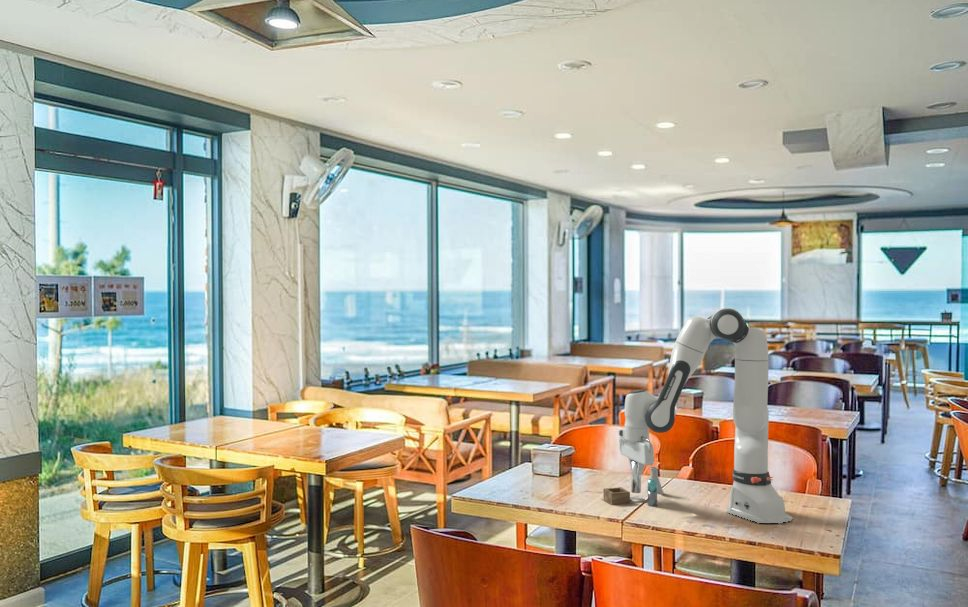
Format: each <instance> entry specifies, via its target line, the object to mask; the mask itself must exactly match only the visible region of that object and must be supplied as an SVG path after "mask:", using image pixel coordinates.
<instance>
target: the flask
mask: <svg viewBox="0 0 968 607" xmlns="http://www.w3.org/2000/svg"><path fill="white" fill-rule="evenodd" d="M649 469H650V475H649V479H656V480H657V495H658V494H659V495H660V496H663V495H664V493H665V492H664V490H663V487H662V484H661V480H660V478H659V471H658V470H659V469H660V468H659V467H658V466H650V467H649ZM644 492H646V493H648V484H646V488H645V490H644Z"/></svg>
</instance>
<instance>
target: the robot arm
mask: <svg viewBox="0 0 968 607" xmlns="http://www.w3.org/2000/svg"><path fill="white" fill-rule="evenodd" d="M718 338H719V339H721V340H724V341H727V342H731V343H733V345H734V355H735V356H734V386H733V388H734V389H733V406H732V420H733V424H734V426H735V427H734V428H735V430H734V431H735V432H734V446H733V448H734V450H733V452H734V454H733V459H734V460H733V461H734V462H733V464H734V465H733V466H734V468H732V480H733V483H732V486H731V488H730V492H729V500H728V501H729V503H728V508H726V511H725V512H726V514H729V513H730V514H729V515H732V514H733V516H735V515H737V516H736V517H738V516H739V517H738V518H741V517H742V518H741V519H744V518H745V519H744V520H747V519H748V520H747V521H750V520H751V521H750V522H752V521H755V522H757V523H756V524H759V523H778V524H784V523H783V522H786V523H789V522H788V521H790V522H792V521H793V520H794V518H793V516H791V515H790V514H788V513H787V512H786V506H785V504H786V503H785V501H784V498H783V497H782V496H781V495H780V494H779V493H778V492H777V490H776V489H775V488H774V486H773V485H772V481H773V478H774V477H773V476H771V475H770V472H769V467H768V466H769V463H768V462H769V456H768V454H769V423H770V422H769V420H770V418H769V417H770V416H769V413H770V412H769V407H768V399H769V398H768V395H769V394H768V393H769V357H770V356H769V346H768V339H767V335H766V333H765V332H764V331H763V330H762V329H759V328H758V327H749V326H748V324H747V323H746V320H745V319H744V318H743V316H742V314H741V313H740V312H739V311H738V310H736V309H735V308H731V307H723V308H720V309H718V310H716V311H715V312H714V313H713V314H712V315H710V316H709V317H708V318H704V317H701V316H692V317H690V318H688V319H687V320H686V322H685V323H684V325H683V326H682V328H681V330H680V332H679V333H678V335H677V337H676V340H675V342H674V344H673V347H672V350H671V354H670V358H669V368H668V372H667V373H668V374H667V377H666V380H665V382H664V384H663V387H662V389H661V392H660V394H659V397H658V396H656V395H655V394H654V395H653V394H652V393H651V392H650V391H648V390H647V389H634V390H631V391H629V392H628V393H627V394H626V395H625V399H624V416H625V417H624V418H625V421H624V428H621V429H619V430H618V436H619V439H618V440H619V441H618V445H619V448H618V449H619V452H620V455H621V456H624V457H626V458H627V459H628V464H629V470H630V471H631V468H632V461H636V462H638V469H636V473H637V474H641V475H643V473H644V471H643V470H644V468H645V466H654V463H655V452H654V451H655V450H654V445H653V444H652V442H651V441H650V430H651V431H652V432H655V433H658V434H662V433H667V432H669V431H670V430H671V429H672V428H673V427H674V425H675V420H676V405H677V403H678V400H679V398H680V396H681V394H682V392H683V389H684V387H685V385H686V384H687V382H688V380H689V379H690V378H691V376H692V375H693V374H694V373H695V372H696V370H697V369H698V368H699V366H700V364H701V363H702V361H703V359H704V358H705V356H706V353H707V350H708V348H709V347H710V344H711V343H712V342H713V341H714V340H715V339H718ZM792 519H793V520H792ZM791 520H792V521H791ZM755 522H754V523H755Z"/></svg>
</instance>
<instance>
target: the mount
mask: <svg viewBox="0 0 968 607" xmlns="http://www.w3.org/2000/svg"><path fill="white" fill-rule="evenodd" d="M601 501H604V503H607V504H608V505H610V506H621V505H632V504H642V503H643V504H644V503H648V499H644V498H643V497H641V496H639V495H638V496H631V492H630V491H628V490H627V489H625V488H623V487H608V488H603V498H602V499H601Z"/></svg>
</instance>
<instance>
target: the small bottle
mask: <svg viewBox="0 0 968 607" xmlns="http://www.w3.org/2000/svg"><path fill="white" fill-rule="evenodd" d="M647 485H648V492H647V501H648V502H647V506H649V507H651V508H653V507H657V506H658V494H657V480H656V479H650V478H647Z"/></svg>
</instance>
